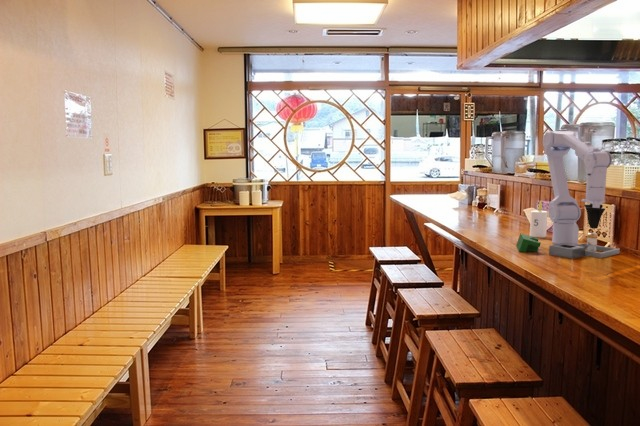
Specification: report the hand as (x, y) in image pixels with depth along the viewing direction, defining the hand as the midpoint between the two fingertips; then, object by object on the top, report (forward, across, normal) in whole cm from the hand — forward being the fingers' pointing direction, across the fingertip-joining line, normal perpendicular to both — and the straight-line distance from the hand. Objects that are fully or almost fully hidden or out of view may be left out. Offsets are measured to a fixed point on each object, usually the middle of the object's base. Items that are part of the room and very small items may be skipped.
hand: (592, 226), depth 170 cm
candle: (+10, -33, -18) cm, 39 cm away
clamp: (+10, +4, -20) cm, 23 cm away
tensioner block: (+10, +8, -8) cm, 15 cm away
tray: (+10, 0, 0) cm, 10 cm away
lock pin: (+9, 0, 0) cm, 9 cm away
